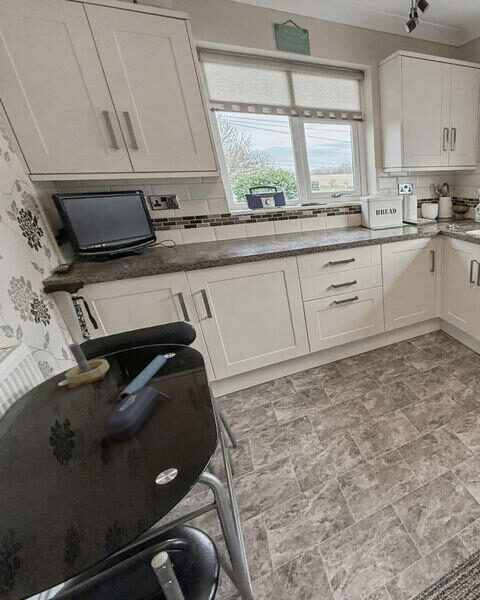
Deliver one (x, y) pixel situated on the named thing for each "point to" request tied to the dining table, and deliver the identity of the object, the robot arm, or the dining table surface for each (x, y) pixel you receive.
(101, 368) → the tape
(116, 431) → the glasses case
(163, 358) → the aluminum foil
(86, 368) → the stand
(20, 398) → the dining table surface
